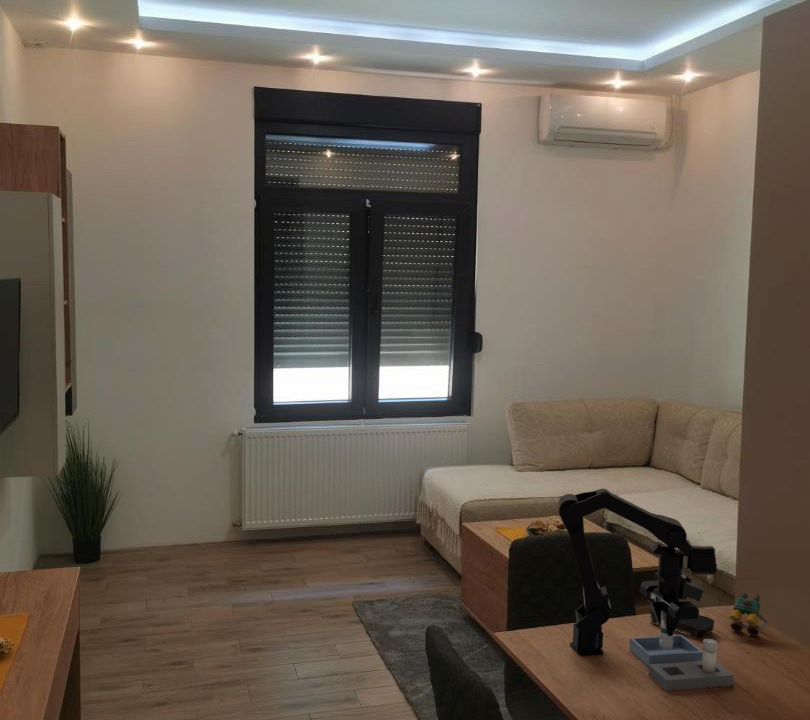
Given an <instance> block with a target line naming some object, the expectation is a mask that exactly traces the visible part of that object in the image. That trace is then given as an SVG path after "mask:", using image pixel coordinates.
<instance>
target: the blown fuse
mask: <svg viewBox="0 0 810 720" xmlns="http://www.w3.org/2000/svg"><path fill="white" fill-rule="evenodd" d="M662 610H668V609H662ZM662 610H661V629H660V628H659V629H660V630H659V631H660V632H659V636H660V640H659V647H660V648H662V649H666V650H670V649H672V648H673V635H674V634H673V635H672V636H668V635H667V632H666V628H665V623H664V619H663V615H662Z"/></svg>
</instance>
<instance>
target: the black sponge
mask: <svg viewBox="0 0 810 720" xmlns="http://www.w3.org/2000/svg"><path fill="white" fill-rule="evenodd" d="M649 623H650V624H652V623H653V624H652V625H655V624H656V626H658V625H659V624H658V622H657V619H656V617H655V614H654V612H653V610H652V609H651V611H650V616H649ZM714 626H715V620H714V619H712V618H711V617H708V616H705V615H701V614H699V618H698V619H682V620H679V622H678V624H677V626H676V629H675V630H677V631H680V632H683V633H686V634H689V635H690V636H689V637H691V636H692V637H691V638H693V637H694V638H693V639H697V638H698V640H701V639H703V638H705V637H706V636H707V635H708V634H709V633H711V632H712V631H714Z"/></svg>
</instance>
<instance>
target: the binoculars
mask: <svg viewBox="0 0 810 720" xmlns="http://www.w3.org/2000/svg"><path fill="white" fill-rule="evenodd" d="M760 599H761V595H758V594H755V595H754V596H753V599H748V594H747V592H744V591H742V592H741V597H738V598H737V599H736V602H735V604H734V606H733V609H732V610H731V611H730V613H729V619H730V620H732V621H731V623H730V625H729V626H730V628H731V630H733V631H735V632H742V631H743V629H744V628H746V632H747V633H748V634H749V635H750V636H753V637H754V636H759V635H760V630H762V629H764V628H765V627H766V626H767V624H768V622H767V620H766V619H765V617H763V616H762V614H761V613H760V612H761V611H760V608H761V603H760ZM745 614H746V616H747V617H746V619H745V622H746V624H744V622H742V617H743V615H745ZM760 620H761V621H763V622H764V625H762V626H759V621H760Z"/></svg>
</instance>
